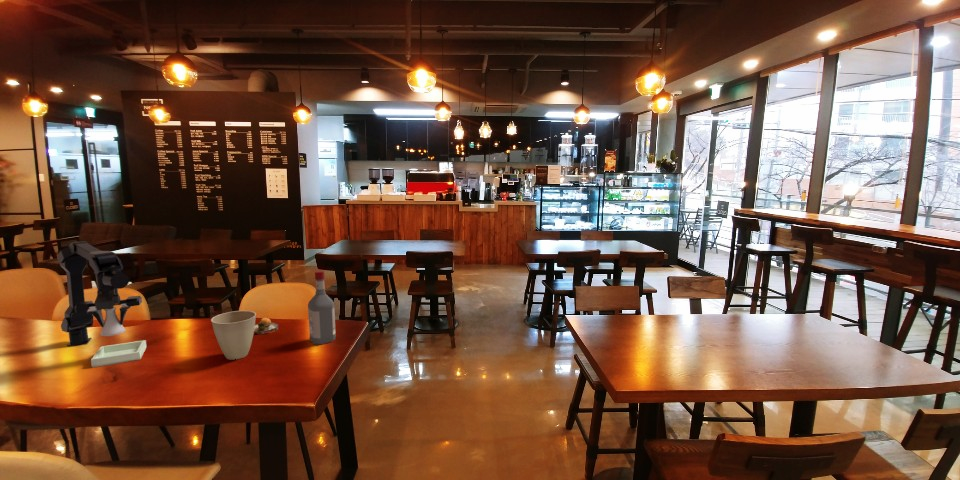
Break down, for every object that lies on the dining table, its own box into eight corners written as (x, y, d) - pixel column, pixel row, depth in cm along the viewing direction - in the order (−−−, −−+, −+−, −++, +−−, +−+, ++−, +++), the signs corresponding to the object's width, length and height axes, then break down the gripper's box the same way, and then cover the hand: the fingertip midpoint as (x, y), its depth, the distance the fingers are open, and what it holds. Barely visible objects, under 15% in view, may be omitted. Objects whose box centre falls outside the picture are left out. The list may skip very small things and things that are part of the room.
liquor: (316, 346, 177) (312, 275, 173) (308, 339, 184) (304, 271, 180) (337, 340, 183) (334, 271, 179) (329, 334, 190) (325, 268, 186)
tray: (101, 353, 168) (101, 346, 168) (146, 347, 175) (145, 340, 175) (91, 367, 156) (90, 359, 156) (140, 359, 163) (139, 352, 163)
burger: (270, 324, 204) (269, 309, 203) (283, 329, 197) (282, 313, 196) (244, 331, 194) (243, 315, 193) (257, 337, 187) (256, 320, 186)
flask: (111, 337, 160) (107, 311, 159) (95, 336, 162) (92, 310, 160) (130, 330, 167) (127, 306, 166) (115, 329, 169) (112, 305, 167)
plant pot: (205, 360, 163) (201, 320, 160) (239, 346, 176) (236, 309, 174) (234, 366, 158) (231, 325, 155) (267, 351, 171) (264, 313, 169)
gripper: (66, 293, 150) (72, 336, 152) (134, 287, 159) (139, 327, 161) (77, 287, 160) (82, 327, 162) (139, 281, 169) (144, 319, 171)
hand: (112, 325), depth 164 cm, fingers closed on flask, 5 cm apart
